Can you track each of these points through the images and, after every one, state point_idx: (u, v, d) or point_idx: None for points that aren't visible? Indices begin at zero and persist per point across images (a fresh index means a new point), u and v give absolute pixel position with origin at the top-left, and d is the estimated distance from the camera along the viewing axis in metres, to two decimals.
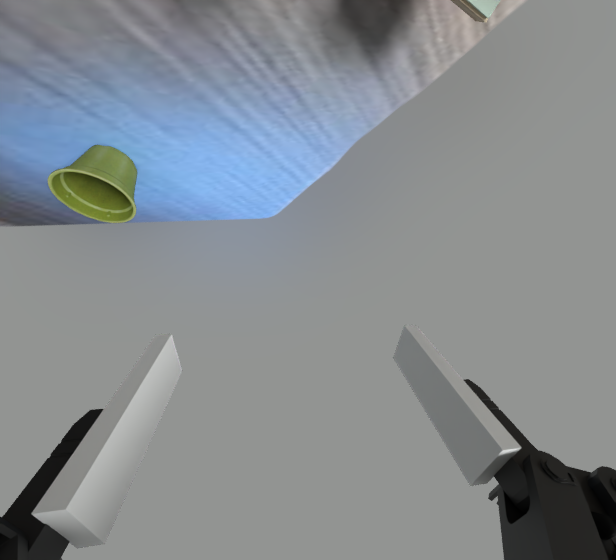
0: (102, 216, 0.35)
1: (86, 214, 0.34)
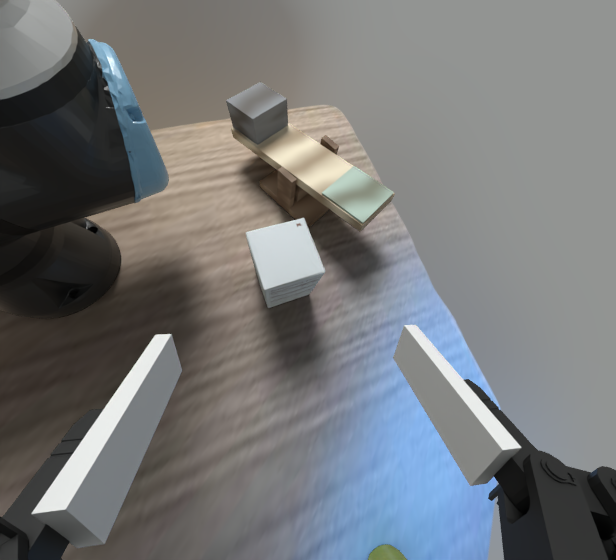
0: None
1: None
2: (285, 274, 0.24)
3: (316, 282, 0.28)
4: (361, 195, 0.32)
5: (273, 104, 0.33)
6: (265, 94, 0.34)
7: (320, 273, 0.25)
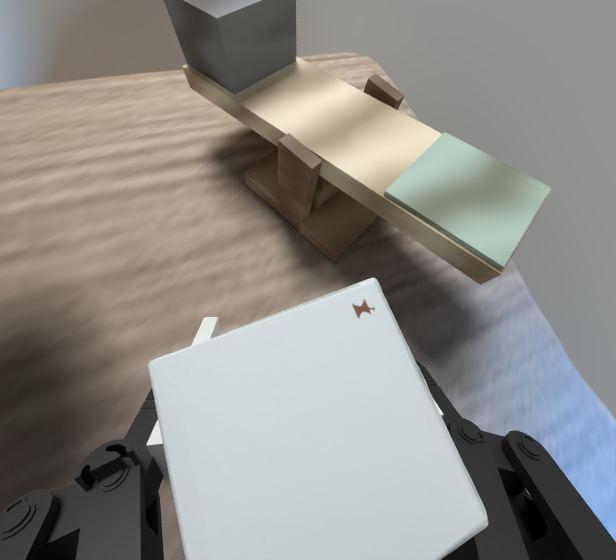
0: None
1: None
2: None
3: None
4: (479, 196, 0.13)
5: None
6: None
7: (471, 533, 0.06)
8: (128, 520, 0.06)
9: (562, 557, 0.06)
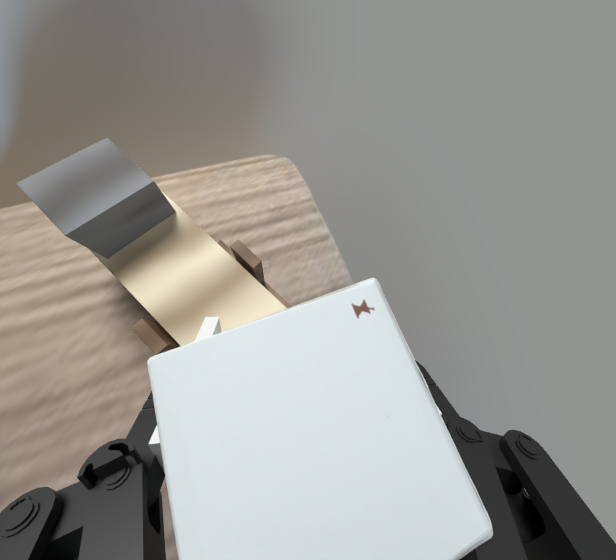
0: None
1: None
2: None
3: None
4: None
5: (121, 196, 0.17)
6: (109, 169, 0.17)
7: (475, 543, 0.05)
8: (131, 519, 0.06)
9: (560, 556, 0.06)
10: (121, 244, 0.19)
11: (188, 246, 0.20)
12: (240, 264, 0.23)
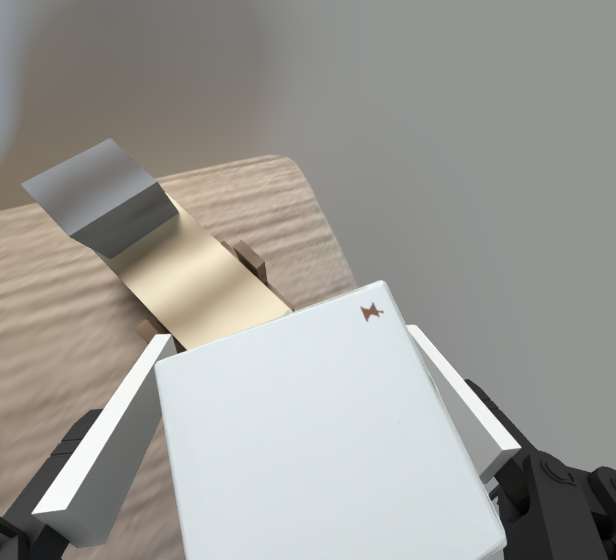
0: None
1: None
2: None
3: None
4: None
5: (124, 196, 0.17)
6: (113, 169, 0.17)
7: (489, 553, 0.05)
8: None
9: None
10: (124, 245, 0.19)
11: (191, 247, 0.20)
12: None
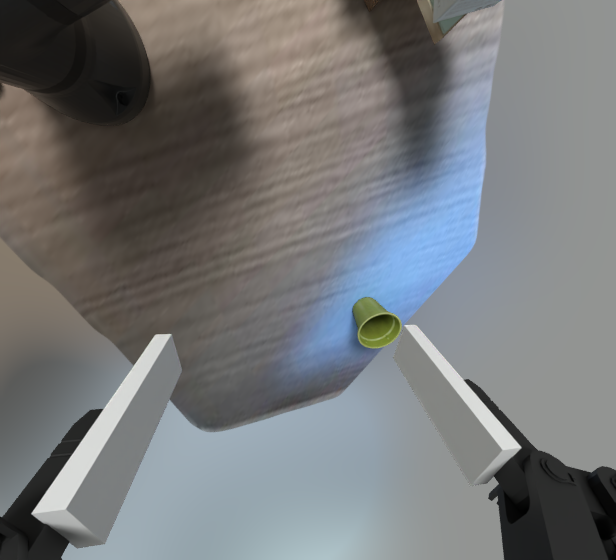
0: (386, 341, 0.48)
1: (379, 346, 0.47)
2: None
3: None
4: None
5: None
6: None
7: None
8: None
9: None
10: None
11: None
12: None
